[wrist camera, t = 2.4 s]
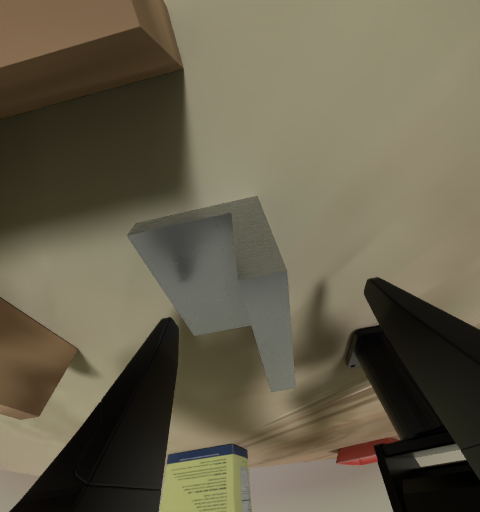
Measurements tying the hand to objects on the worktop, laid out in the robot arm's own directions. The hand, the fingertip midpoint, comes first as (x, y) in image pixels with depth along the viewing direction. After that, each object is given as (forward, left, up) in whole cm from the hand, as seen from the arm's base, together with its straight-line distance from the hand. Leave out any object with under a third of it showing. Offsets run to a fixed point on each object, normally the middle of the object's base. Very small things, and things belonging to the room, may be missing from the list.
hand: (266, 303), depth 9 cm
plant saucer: (-79, -23, -3) cm, 82 cm away
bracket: (0, +2, -3) cm, 4 cm away
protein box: (-53, +19, -3) cm, 56 cm away
